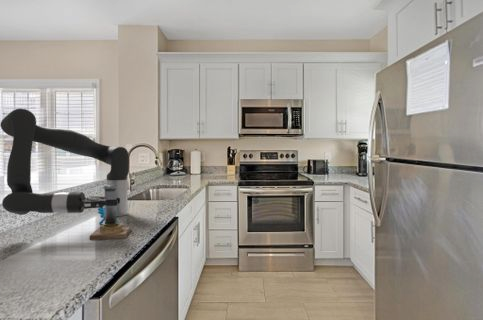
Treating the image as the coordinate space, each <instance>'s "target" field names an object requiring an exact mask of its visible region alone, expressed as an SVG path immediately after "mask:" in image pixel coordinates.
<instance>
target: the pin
mask: <svg viewBox="0 0 483 320" xmlns="http://www.w3.org/2000/svg"><path fill="white" fill-rule="evenodd" d="M102 186H103V190H104V197H105V200H114V199H116V189H117V185H107V184H105V185H102ZM116 217H117V216H116V206H105V221H104V224H115V223H116Z"/></svg>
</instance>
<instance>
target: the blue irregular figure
mask: <svg viewBox="0 0 483 320" xmlns="http://www.w3.org/2000/svg"><path fill="white" fill-rule="evenodd" d="M97 213H98V215H99V216H100V218H101V220H100V221H99V225H103V223H105V207H102V208H97ZM118 219H119V218H118V216H116V223H119V220H118Z"/></svg>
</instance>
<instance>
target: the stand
mask: <svg viewBox="0 0 483 320" xmlns="http://www.w3.org/2000/svg"><path fill="white" fill-rule="evenodd" d="M123 225H124V224H123V223H121V222H117V223H115V224H105V223H104V224H103V223H102V224H100V225H99V227H97V228H96V229H95V230H94V231H93V232H92V233H90V235H89V240H90V241H95V240H112V239H114V240H115V239H116V240H117V239H126V238H127V237H128V236H129V233H130V232H131V229H132V226H131V225H124V226H123Z"/></svg>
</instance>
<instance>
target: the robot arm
mask: <svg viewBox="0 0 483 320" xmlns="http://www.w3.org/2000/svg"><path fill="white" fill-rule="evenodd" d="M0 128H1V130H2V131H3V132H4V134H6V135H8V136H10V137H11V138H12V145H11V150H10V152H9V153H10V154H9V158H8V162H7V168H6V169H7V170H6V184H7V186H8V188H9V189H10V190H11V193H9V194H7V195H6V196H5V197H3V198H2V201H1V202H2V203H1V204H2V207H3V209H4V210H5V211H7V212H9V213H12V214H15V215H19V216H20V215H27V214H29V213H30V212H36V213H41V214H52V213H53V214H54V213H55V214H57V213H58V214H80V213H81V214H82V213H83V212H84V210H85V209H86V210H88V209H99V208H102V207H103V208H104V207H105V206H116V217H122V216H126V215H128V175H129V171H130V155H129V151H128V150H127V149H126V148H125V147H123V146H109V145H105V144H101V143H98V142H95V140H93V139H92V138H90V137H89V136H87V135H85V134H83V133H80V132H78V131H74V130H72V129H67V128H57V127H45V126H41V125H38V124H37V118H36V116H35V115H34V113H33V112H32V111H30V110H29V109H28V108H27V109H26V108H23V107H22V108H21V107H20V108H16V109H13V110H11V111H10V112H9V113H8V114H7V115H6V116H4V117H3V118H2V120H1V121H0ZM33 142H35V143H38V144H42V145H46V146H49V147H52V148H56V149H57V150H61V151H65V152H68V153H70V154H74V155H79V156H83V157H88V158H93V159H95V160H97V161H100V162H103V163H104V164H107V165H109V166H110V170H109V172H108V173H107V174H106V185H117V189H116V199H114V200H105V196H102V195H101V196H96V195H95V196H94V195H92V196H91V195H90V196H88V197H86V195H85V192H83V191H72V192H71V191H68V192H67V191H66V192H65V191H64V192H52V193H51V192H50V193H49V192H48V193H37V192H36V193H35V192H33V187H32V185H31V184H32V183H31V179H32V178H31V177H32V175H31V174H32V173H31V170H32V164H31V163H32V150H33V149H32V148H33Z"/></svg>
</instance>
